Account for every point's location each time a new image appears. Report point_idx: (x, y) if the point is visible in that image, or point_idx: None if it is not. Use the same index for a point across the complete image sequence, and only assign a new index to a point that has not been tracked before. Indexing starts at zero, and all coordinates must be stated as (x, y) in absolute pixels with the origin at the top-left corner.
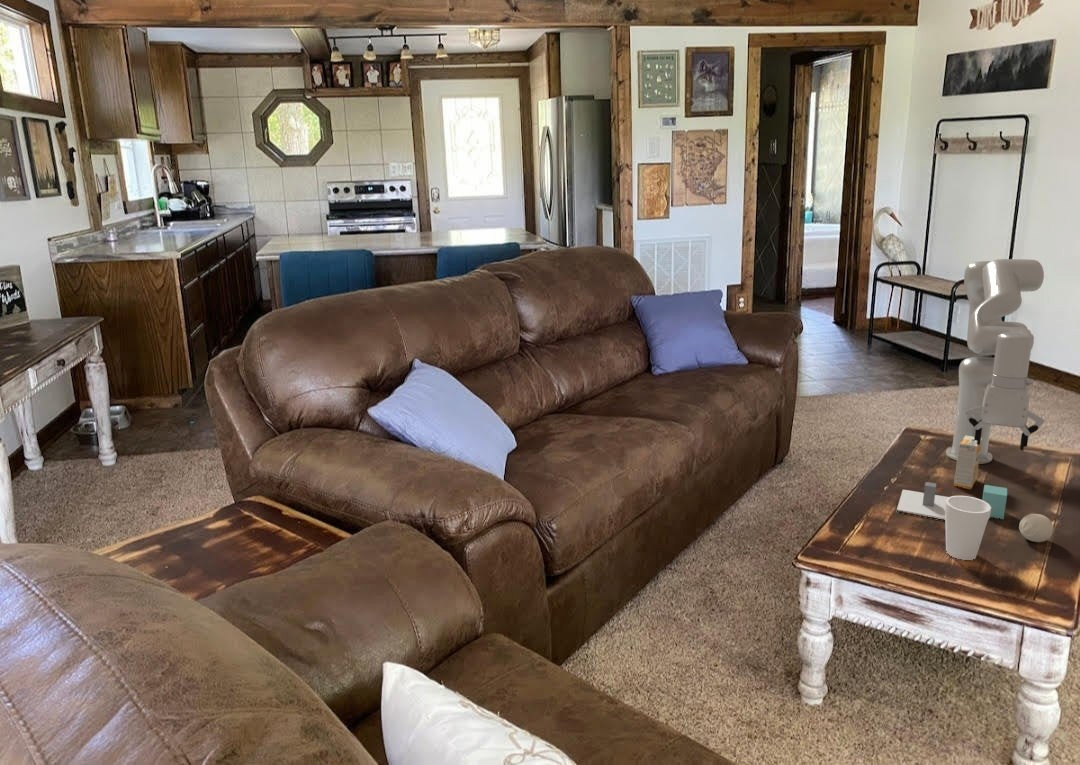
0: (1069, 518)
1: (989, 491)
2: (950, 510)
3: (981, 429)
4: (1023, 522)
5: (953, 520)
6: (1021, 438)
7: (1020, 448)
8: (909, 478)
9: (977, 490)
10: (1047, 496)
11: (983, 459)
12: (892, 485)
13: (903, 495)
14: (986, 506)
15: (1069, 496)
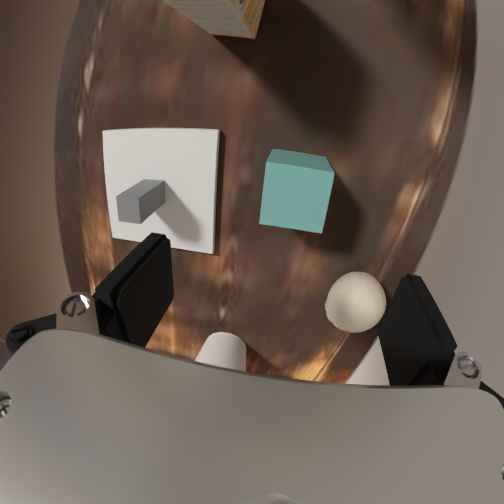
0: (453, 166)
1: (276, 214)
2: None
3: (126, 336)
4: (330, 319)
5: None
6: (403, 359)
7: (379, 336)
8: (116, 43)
9: (272, 37)
10: (436, 48)
11: None
12: (88, 103)
13: (107, 164)
14: None
15: (473, 49)
